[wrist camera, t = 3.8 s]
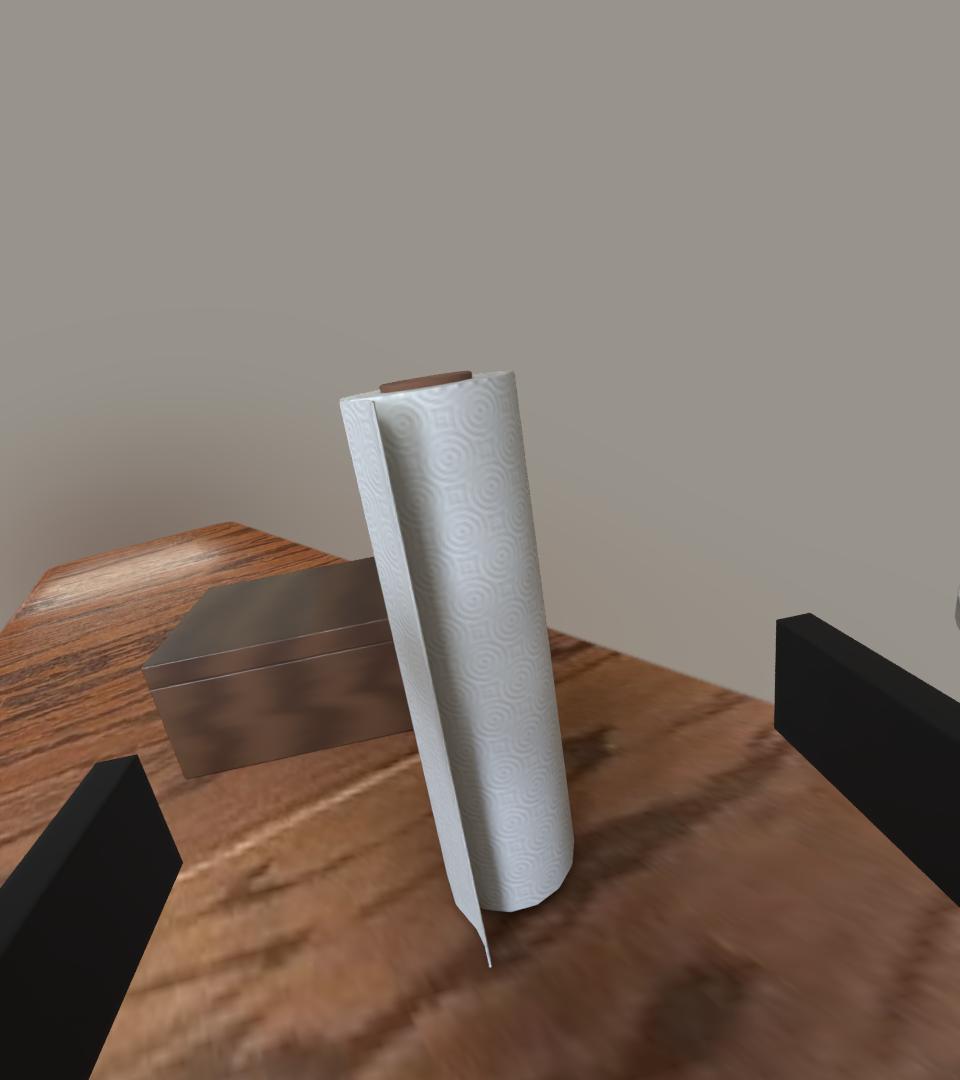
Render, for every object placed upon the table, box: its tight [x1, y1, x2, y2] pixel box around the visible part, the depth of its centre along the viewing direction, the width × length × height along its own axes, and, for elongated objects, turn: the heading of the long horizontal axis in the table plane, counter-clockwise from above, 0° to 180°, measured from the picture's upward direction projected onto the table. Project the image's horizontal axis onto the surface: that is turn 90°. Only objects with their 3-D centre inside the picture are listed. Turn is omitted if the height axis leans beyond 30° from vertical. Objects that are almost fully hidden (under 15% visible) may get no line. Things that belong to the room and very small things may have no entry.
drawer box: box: [141, 557, 414, 779], centre depth 39 cm, size 16×12×8 cm
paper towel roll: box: [339, 371, 574, 968], centre depth 22 cm, size 7×6×21 cm
